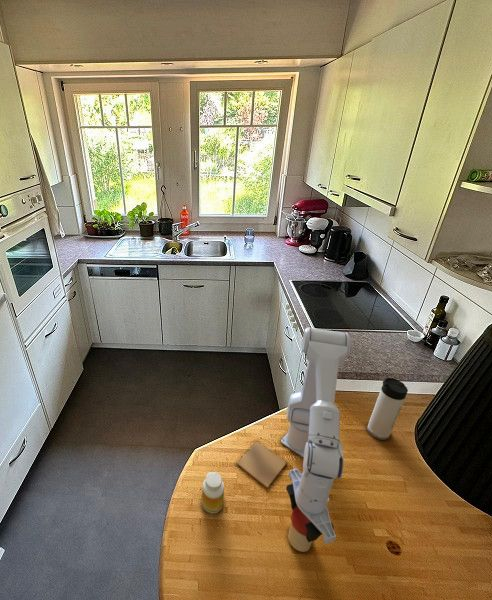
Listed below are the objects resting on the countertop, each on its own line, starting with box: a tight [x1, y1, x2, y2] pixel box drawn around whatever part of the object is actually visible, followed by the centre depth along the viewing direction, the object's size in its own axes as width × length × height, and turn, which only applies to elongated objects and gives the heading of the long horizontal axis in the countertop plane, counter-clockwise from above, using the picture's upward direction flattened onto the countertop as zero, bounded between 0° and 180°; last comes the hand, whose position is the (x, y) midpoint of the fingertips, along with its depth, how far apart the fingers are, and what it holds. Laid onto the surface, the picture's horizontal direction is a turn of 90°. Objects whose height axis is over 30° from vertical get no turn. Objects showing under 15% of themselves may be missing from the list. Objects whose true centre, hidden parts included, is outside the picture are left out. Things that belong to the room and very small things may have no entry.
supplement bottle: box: [201, 471, 225, 514], centre depth 80 cm, size 5×5×10 cm
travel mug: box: [366, 377, 409, 441], centre depth 97 cm, size 6×7×20 cm
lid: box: [290, 506, 311, 536], centre depth 72 cm, size 6×6×2 cm
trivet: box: [236, 441, 287, 489], centre depth 92 cm, size 10×10×1 cm
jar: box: [287, 522, 313, 553], centre depth 73 cm, size 5×5×8 cm
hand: (303, 524), depth 72 cm, fingers closed on lid, 5 cm apart
